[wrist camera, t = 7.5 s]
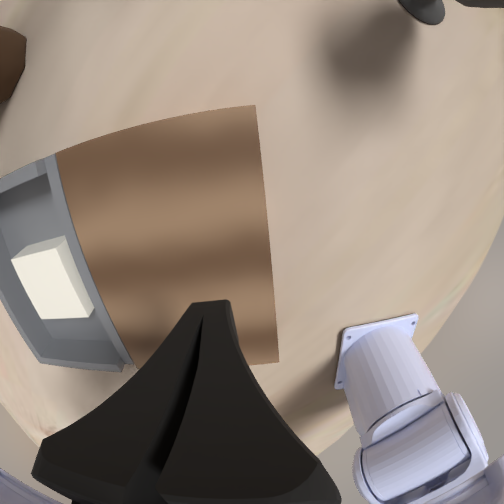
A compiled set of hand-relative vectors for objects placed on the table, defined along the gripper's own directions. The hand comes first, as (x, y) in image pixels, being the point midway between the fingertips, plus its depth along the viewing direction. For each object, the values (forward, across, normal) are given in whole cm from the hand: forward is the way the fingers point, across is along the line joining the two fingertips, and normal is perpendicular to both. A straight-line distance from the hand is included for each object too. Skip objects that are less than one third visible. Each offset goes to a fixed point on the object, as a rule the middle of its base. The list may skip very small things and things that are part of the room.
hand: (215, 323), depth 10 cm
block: (+9, +15, +2) cm, 18 cm away
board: (+10, +4, +2) cm, 11 cm away
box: (+10, +16, +2) cm, 19 cm away
